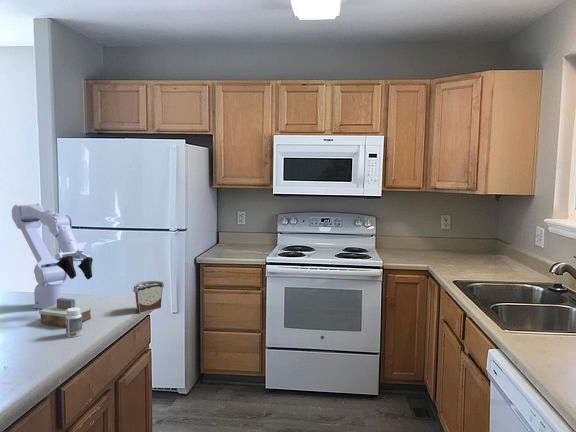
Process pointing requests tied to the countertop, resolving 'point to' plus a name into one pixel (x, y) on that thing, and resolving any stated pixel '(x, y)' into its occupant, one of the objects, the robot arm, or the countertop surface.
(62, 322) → the crate
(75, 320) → the pill bottle
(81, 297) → the countertop surface
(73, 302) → the lid
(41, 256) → the robot arm
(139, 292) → the food container
